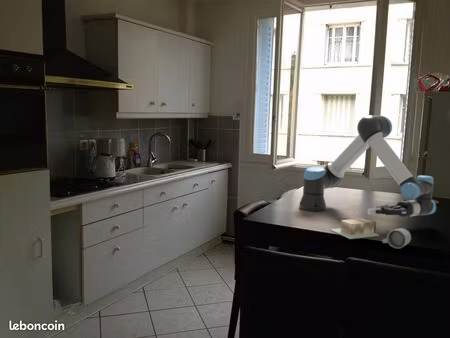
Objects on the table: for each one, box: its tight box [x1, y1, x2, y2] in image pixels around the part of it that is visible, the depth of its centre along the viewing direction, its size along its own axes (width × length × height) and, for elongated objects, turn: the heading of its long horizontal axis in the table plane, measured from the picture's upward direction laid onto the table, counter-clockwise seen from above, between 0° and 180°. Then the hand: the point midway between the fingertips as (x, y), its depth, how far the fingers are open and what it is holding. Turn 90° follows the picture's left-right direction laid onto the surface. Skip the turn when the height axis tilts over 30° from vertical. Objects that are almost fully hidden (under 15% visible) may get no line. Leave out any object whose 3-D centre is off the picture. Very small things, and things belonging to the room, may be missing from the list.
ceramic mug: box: [381, 227, 412, 250], centre depth 168 cm, size 11×8×8 cm
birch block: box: [340, 217, 377, 235], centre depth 185 cm, size 5×7×14 cm
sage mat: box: [330, 227, 380, 240], centre depth 185 cm, size 16×14×1 cm
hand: (368, 211), depth 186 cm, fingers closed
